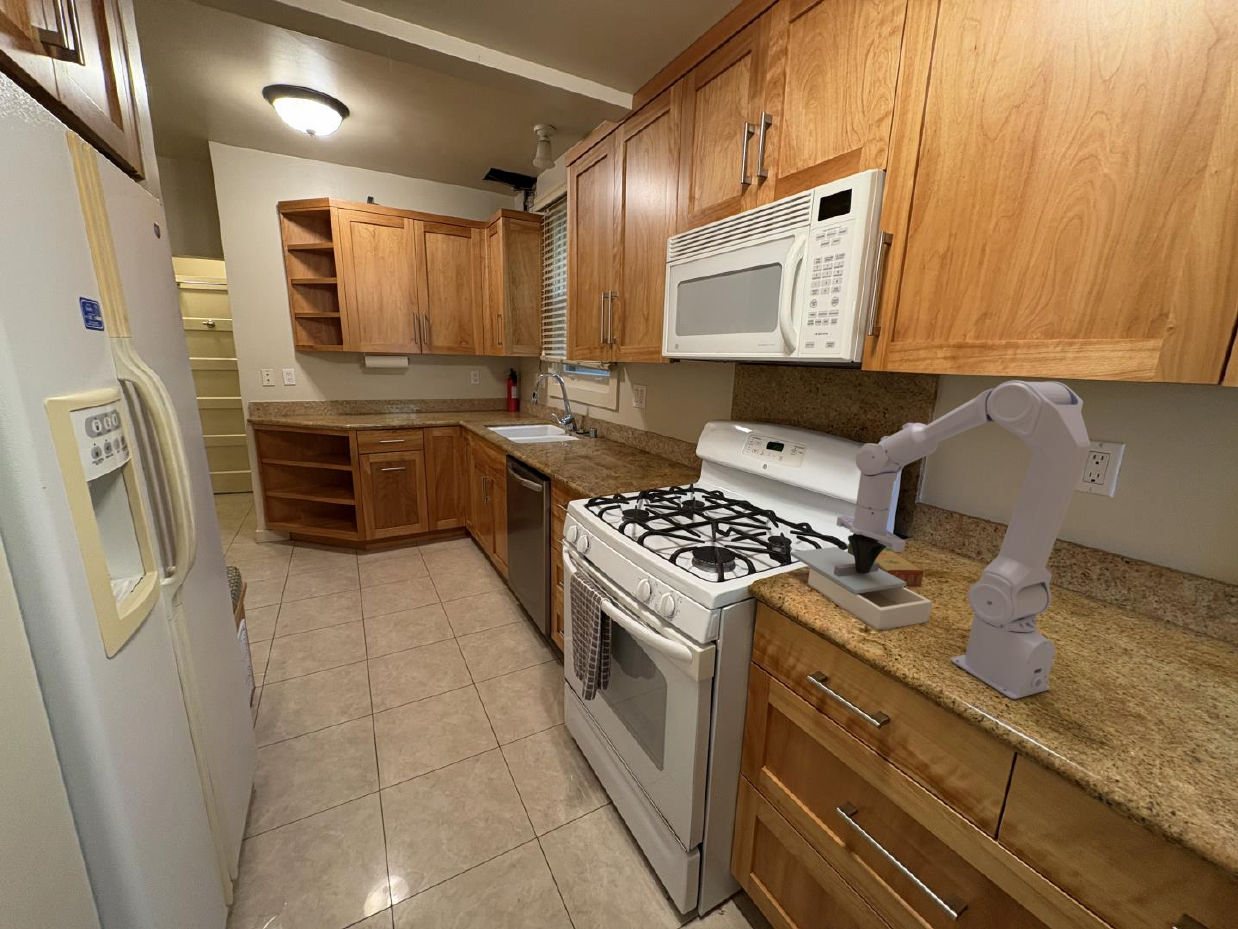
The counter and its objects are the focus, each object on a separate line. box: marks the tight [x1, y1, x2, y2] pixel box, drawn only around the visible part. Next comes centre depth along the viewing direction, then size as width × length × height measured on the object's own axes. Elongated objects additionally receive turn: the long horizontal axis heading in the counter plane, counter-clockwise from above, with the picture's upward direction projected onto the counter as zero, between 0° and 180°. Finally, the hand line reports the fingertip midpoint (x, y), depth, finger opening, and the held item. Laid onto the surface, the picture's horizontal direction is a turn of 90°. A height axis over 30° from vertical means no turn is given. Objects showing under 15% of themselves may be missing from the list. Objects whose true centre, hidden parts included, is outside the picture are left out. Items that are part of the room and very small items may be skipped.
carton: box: [846, 542, 924, 588], centre depth 110 cm, size 8×16×4 cm, turn 3°
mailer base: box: [807, 567, 933, 632], centre depth 94 cm, size 18×12×4 cm, turn 19°
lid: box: [790, 546, 907, 594], centre depth 99 cm, size 18×12×2 cm
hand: (862, 572), depth 95 cm, fingers closed
